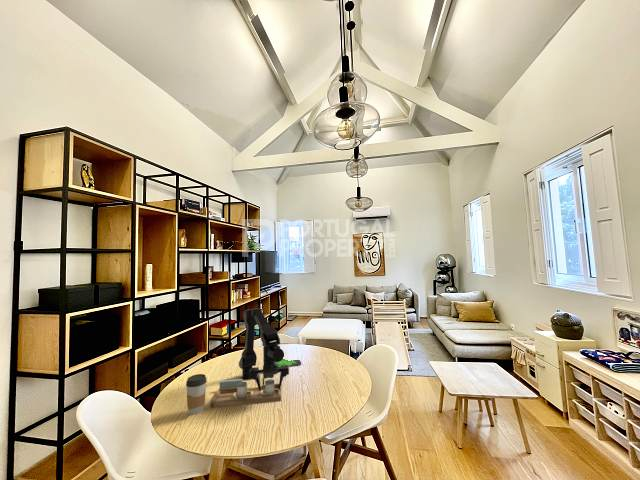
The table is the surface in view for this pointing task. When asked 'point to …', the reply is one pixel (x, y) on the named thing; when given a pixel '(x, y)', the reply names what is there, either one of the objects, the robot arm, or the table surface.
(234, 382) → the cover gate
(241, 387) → the pin
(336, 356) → the table surface
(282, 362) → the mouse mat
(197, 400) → the coffee cup
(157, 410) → the table surface
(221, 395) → the tray
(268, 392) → the grey pin
